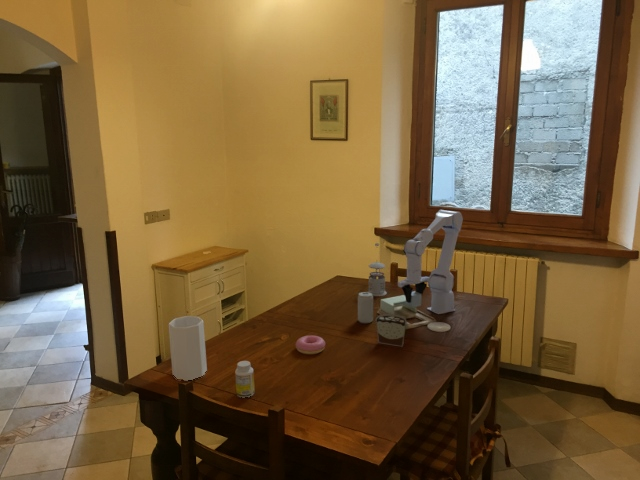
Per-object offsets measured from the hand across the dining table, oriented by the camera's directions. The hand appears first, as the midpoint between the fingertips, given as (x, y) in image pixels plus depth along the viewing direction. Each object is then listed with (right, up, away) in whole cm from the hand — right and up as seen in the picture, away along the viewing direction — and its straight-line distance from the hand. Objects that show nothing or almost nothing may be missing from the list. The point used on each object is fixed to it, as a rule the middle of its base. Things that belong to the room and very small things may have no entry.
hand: (413, 301), depth 214 cm
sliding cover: (-5, -6, +11) cm, 13 cm away
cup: (-82, -20, -40) cm, 94 cm away
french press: (-11, -1, +40) cm, 42 cm away
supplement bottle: (-61, -22, -54) cm, 85 cm away
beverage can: (-20, -9, +3) cm, 22 cm away
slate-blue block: (0, -2, 0) cm, 2 cm away
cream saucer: (+9, -10, -5) cm, 15 cm away
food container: (-11, -14, -18) cm, 25 cm away
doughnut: (-42, -15, -23) cm, 50 cm away
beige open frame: (-2, -8, +6) cm, 10 cm away
